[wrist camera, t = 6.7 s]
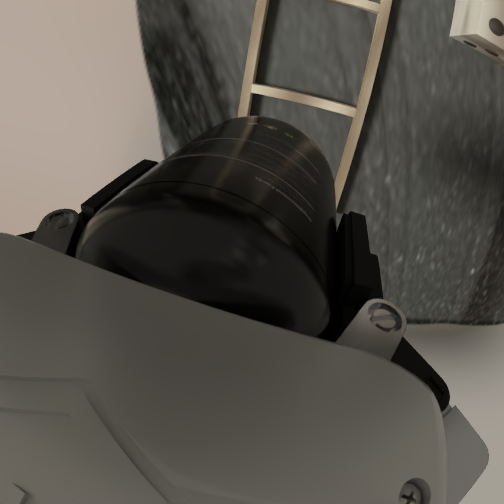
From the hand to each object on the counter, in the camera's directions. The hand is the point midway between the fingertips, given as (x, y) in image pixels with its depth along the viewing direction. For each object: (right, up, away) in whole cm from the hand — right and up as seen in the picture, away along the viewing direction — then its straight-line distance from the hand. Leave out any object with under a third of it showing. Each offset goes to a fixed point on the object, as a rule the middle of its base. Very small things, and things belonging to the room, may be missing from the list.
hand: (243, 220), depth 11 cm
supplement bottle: (+1, +2, +3) cm, 3 cm away
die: (+20, +19, +4) cm, 28 cm away
